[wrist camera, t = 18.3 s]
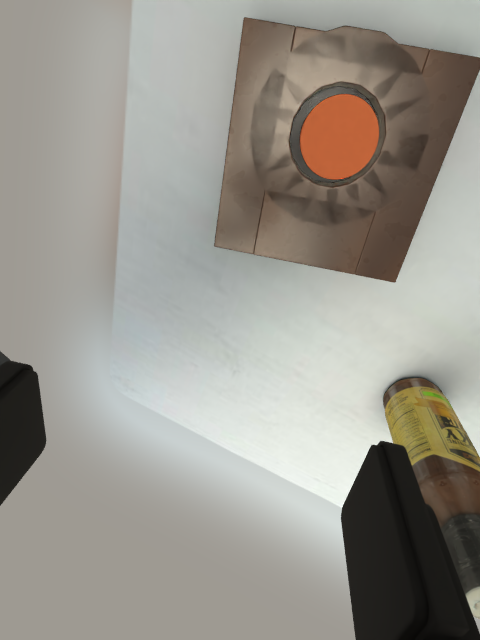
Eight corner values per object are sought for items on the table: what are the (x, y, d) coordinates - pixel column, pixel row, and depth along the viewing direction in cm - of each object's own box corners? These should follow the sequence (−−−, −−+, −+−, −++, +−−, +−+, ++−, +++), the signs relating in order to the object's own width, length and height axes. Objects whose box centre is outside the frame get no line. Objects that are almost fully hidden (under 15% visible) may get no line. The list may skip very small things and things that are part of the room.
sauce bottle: (452, 405, 39) (578, 627, 22) (396, 427, 41) (470, 643, 24) (425, 363, 37) (540, 569, 20) (369, 388, 40) (427, 592, 22)
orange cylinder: (293, 166, 30) (292, 172, 26) (308, 94, 28) (310, 87, 24) (354, 177, 30) (364, 186, 26) (375, 106, 28) (390, 101, 23)
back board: (219, 239, 34) (213, 246, 32) (249, 18, 26) (244, 8, 24) (388, 272, 33) (395, 282, 31) (471, 56, 26) (487, 49, 23)
